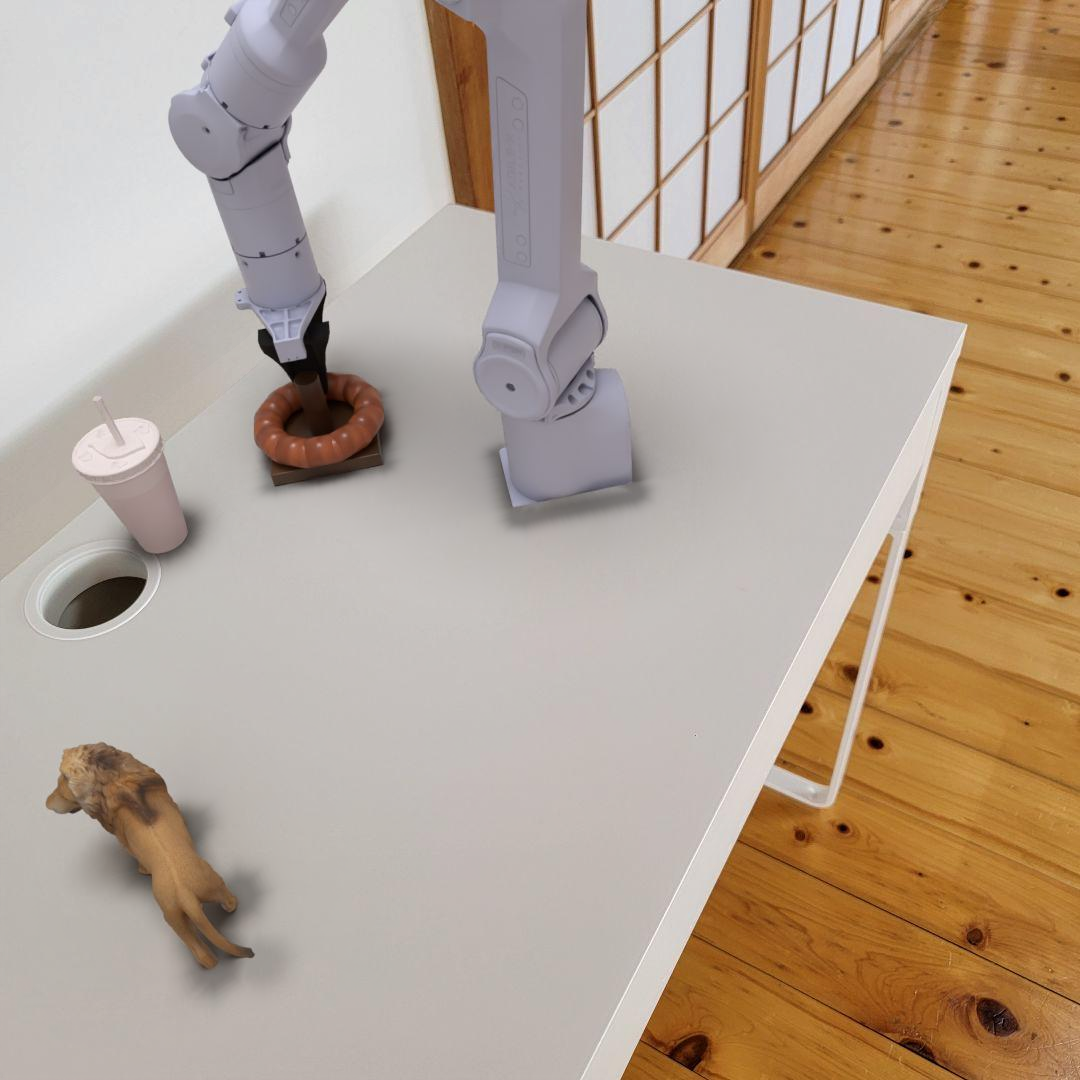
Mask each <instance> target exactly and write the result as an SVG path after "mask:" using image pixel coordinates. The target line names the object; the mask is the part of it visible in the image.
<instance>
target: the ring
mask: <svg viewBox="0 0 1080 1080" xmlns="http://www.w3.org/2000/svg"><path fill="white" fill-rule="evenodd" d="M327 379H328V394H327V395H325V398H326V401H327V400H335V401H342V402H347V403H349V404H350V405H351V406H352V407H354V414H353V416H352V417H351V419H350V420H349V422H348V423H347V424H345V425H344V426H342V427H340V428H339V429H337V430H335V431H333V432H332V433H330V434H326V435H322V436H317V437H312V438H301V437H295V436H290V435H289V434H287V433H286V432H285V431H284V424H285V422H286V421H287V420H288V418H289V417H290V416H291V414H293V413H294V412H296V411H298V410H300V409H301V408H303V407H302V404H301V401H300V398H299V395H298V392H297V389H296V387H295V385H294V384H293V382H292V381H291V380H290V381H289V382H287V383H285V384H284V385H282V386H280V387H278V388H276V389H275V390H273V391H271V393H269V395H268V396H267V397H266V398H265V400H263V402H262V404H261V405H260V406H259V408H258V409H257V410H256V412H255V414H254V415H253V440H254V443H255V445H256V446H257V447H258V448H259V449H260V450H261V451H262V452H263V453H264V454H265V455H266V456H268V457H269V459H270V460H271V459H272V460H273V461H275V462H276V463H279V464H283V465H289V466H295V467H300V468H307V469H308V468H315V467H319V466H324V465H329V464H334V463H339V462H342V461H344V460H345V459H347V458H349V457H350V456H352V455H354V454H355V453H357V452H359V451H360V450H362V449H363V448H365V447H367V446H368V445H369V444H370V443H371V441H372V440H373V438H374V436H375V435H376V433H377V432H378V430H379V431H380V428H382V426H383V424H384V421H385V412H384V404H383V399H382V395H381V393H380V391H379V390H378V389H377V388H375V387H374V386H373V385H372V384H370V383H369V382H367V381H366V380H365V379H364V378H362V377H361V376H359V375H355V374H349V373H343V372H338V371H337V372H335V371H327Z"/></svg>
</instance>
